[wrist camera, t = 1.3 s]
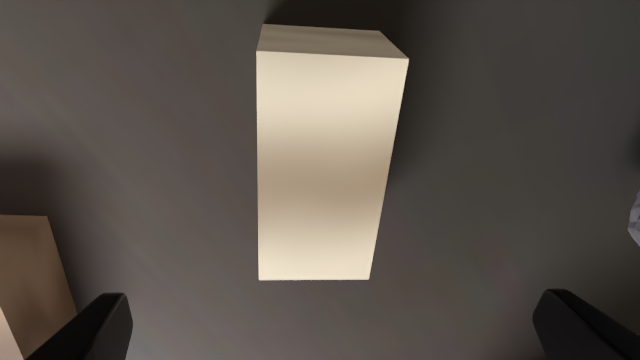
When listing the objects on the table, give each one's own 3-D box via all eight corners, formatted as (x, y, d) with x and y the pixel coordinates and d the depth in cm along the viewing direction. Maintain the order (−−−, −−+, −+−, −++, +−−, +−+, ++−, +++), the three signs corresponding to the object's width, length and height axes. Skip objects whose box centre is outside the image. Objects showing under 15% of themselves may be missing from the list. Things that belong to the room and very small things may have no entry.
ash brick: (352, 215, 18) (368, 279, 15) (263, 214, 18) (258, 279, 14) (378, 29, 14) (409, 58, 11) (262, 23, 14) (256, 51, 10)
